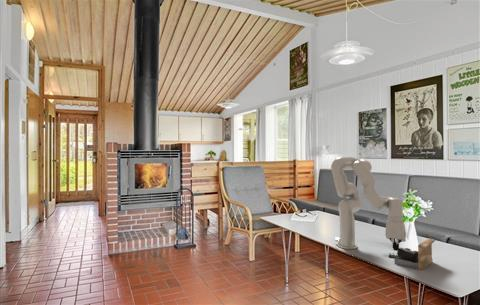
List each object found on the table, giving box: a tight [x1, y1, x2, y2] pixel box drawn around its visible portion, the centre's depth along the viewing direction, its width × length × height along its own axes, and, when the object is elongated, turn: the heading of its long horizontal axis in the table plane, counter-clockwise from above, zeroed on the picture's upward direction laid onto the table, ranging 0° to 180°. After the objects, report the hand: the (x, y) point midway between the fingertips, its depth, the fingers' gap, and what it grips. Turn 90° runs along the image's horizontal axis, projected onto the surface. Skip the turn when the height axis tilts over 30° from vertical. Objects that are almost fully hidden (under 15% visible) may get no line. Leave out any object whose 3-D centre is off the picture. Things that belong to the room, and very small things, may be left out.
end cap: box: [396, 247, 418, 263], centre depth 173 cm, size 10×7×7 cm
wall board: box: [417, 238, 436, 271], centre depth 166 cm, size 3×18×13 cm, turn 133°
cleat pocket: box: [394, 256, 419, 270], centre depth 172 cm, size 12×18×3 cm, turn 133°
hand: (395, 249), depth 178 cm, fingers closed
